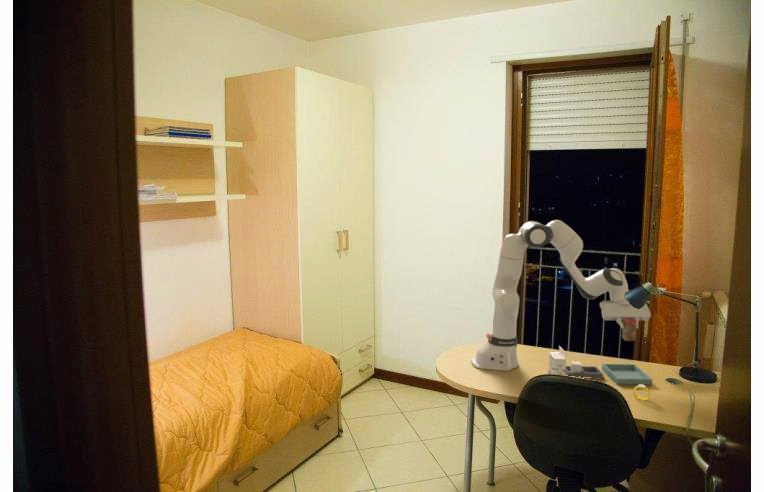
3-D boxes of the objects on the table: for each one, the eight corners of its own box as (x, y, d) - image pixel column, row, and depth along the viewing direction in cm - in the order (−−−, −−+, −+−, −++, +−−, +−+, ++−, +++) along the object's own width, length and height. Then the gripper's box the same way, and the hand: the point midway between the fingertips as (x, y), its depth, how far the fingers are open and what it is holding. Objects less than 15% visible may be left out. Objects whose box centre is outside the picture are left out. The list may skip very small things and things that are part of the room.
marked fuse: (626, 340, 209) (627, 321, 208) (622, 337, 213) (623, 318, 212) (635, 340, 209) (636, 321, 207) (631, 337, 213) (632, 318, 211)
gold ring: (632, 399, 193) (632, 385, 193) (633, 396, 196) (633, 383, 195) (649, 402, 190) (649, 388, 190) (650, 399, 192) (650, 385, 192)
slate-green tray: (617, 385, 206) (617, 378, 205) (602, 369, 222) (602, 363, 222) (651, 385, 205) (652, 379, 204) (634, 370, 221) (634, 364, 221)
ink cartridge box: (547, 375, 216) (548, 345, 214) (558, 375, 216) (559, 345, 214) (553, 384, 208) (555, 352, 205) (565, 384, 207) (566, 352, 205)
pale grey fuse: (571, 376, 215) (572, 364, 214) (570, 373, 219) (571, 360, 218) (581, 377, 214) (581, 364, 213) (579, 373, 218) (580, 361, 217)
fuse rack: (568, 378, 213) (568, 373, 213) (562, 370, 221) (562, 365, 221) (602, 378, 212) (602, 373, 212) (595, 371, 220) (596, 366, 220)
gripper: (600, 297, 216) (608, 324, 208) (647, 297, 214) (656, 325, 206) (596, 304, 221) (603, 331, 213) (641, 304, 220) (650, 331, 211)
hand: (630, 328), depth 209 cm, fingers closed on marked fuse, 4 cm apart
